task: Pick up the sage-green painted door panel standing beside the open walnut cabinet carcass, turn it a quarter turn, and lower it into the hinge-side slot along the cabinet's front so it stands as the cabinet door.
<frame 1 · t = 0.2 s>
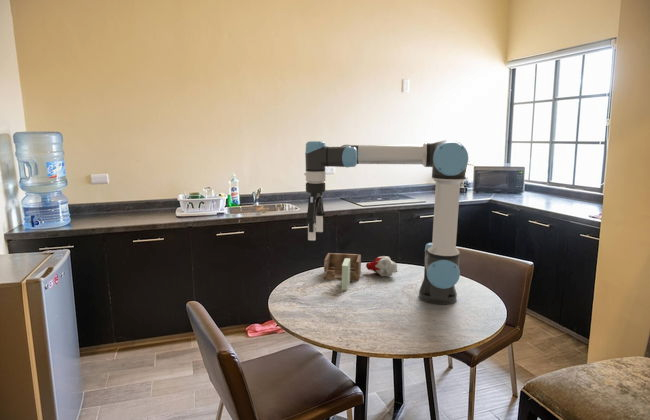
hand: (315, 235, 175), 28 cm above the table, fingers open, 13 cm apart
white and red lump: (381, 274, 214), on the table
cabinet: (342, 275, 211), on the table
door: (346, 285, 198), on the table
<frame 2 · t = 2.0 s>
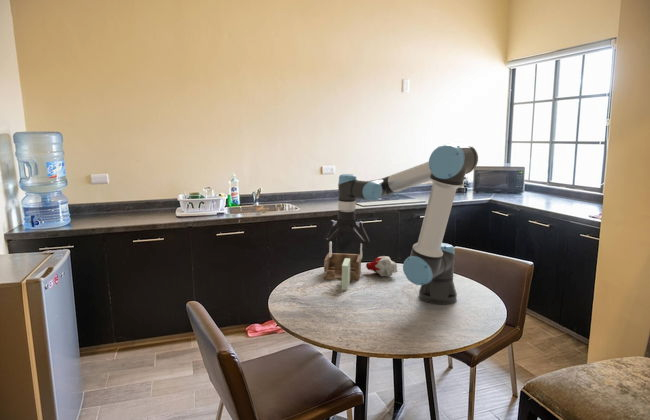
hand: (345, 257, 196), 13 cm above the table, fingers open, 13 cm apart
nothing on the table moved.
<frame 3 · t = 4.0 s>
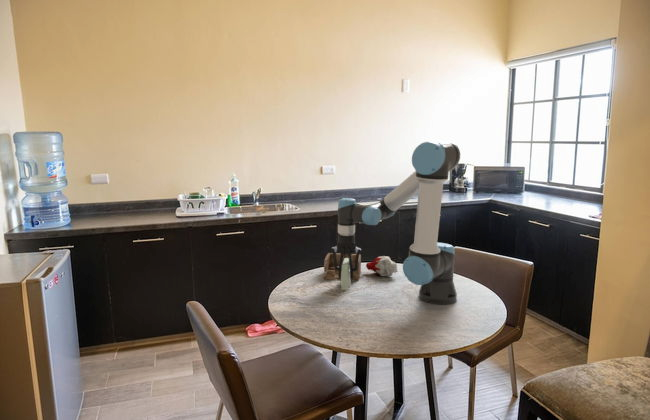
hand: (345, 284, 198), 0 cm above the table, fingers closed on door, 2 cm apart
door: (345, 285, 198), on the table, touching gripper
everything else where it was.
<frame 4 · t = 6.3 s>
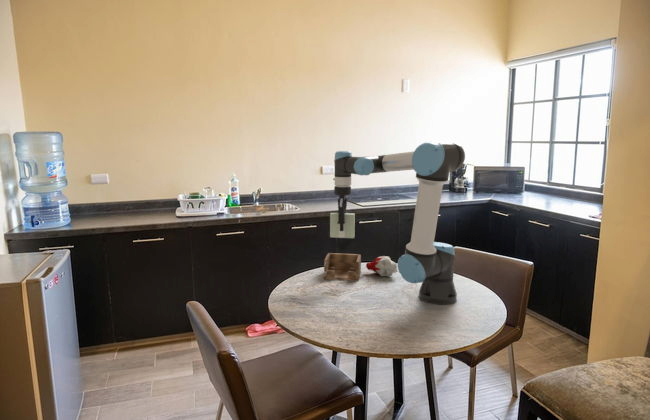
hand: (342, 236, 205), 20 cm above the table, fingers closed on door, 2 cm apart
door: (342, 237, 205), point 20 cm above the table, touching gripper
everything else where it was.
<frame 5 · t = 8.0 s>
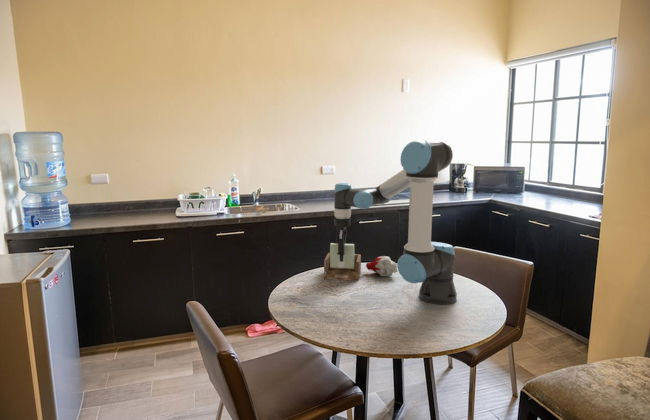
hand: (341, 266, 207), 5 cm above the table, fingers closed on door, 2 cm apart
door: (342, 267, 207), point 5 cm above the table, touching gripper
everything else where it was.
when the fingers open (2 cm above the table, at t = 8.7 s): door drops 1 cm, resting on cabinet.
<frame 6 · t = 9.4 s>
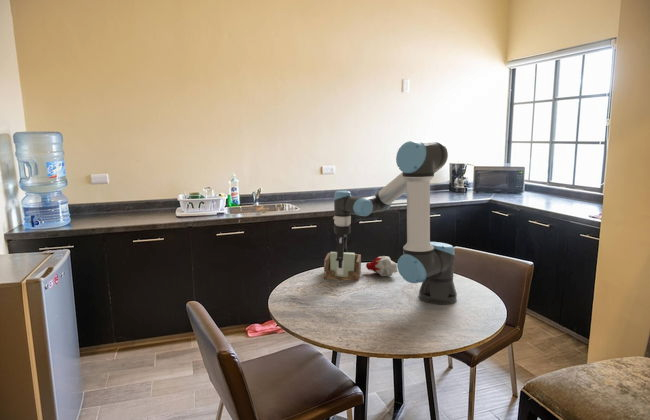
hand: (342, 270, 207), 4 cm above the table, fingers open, 12 cm apart
door: (342, 275, 208), point 1 cm above the table, touching cabinet
everything else where it was.
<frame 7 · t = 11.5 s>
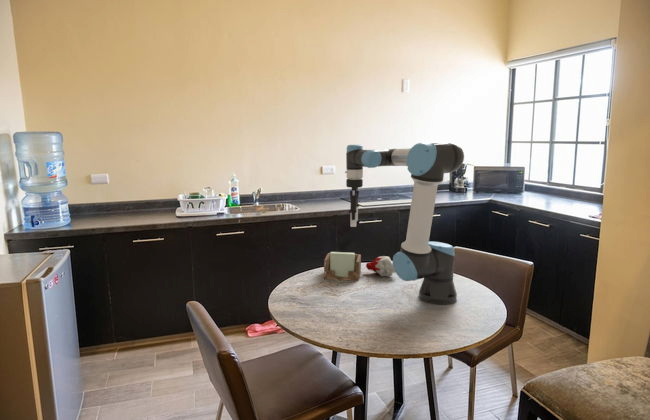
hand: (354, 223, 209), 25 cm above the table, fingers open, 13 cm apart
nothing on the table moved.
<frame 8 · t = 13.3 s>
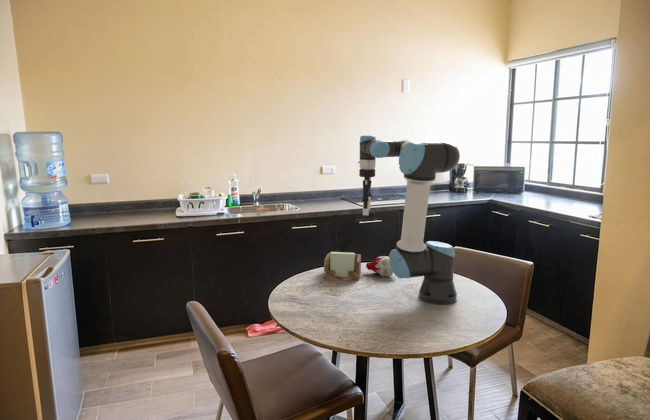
hand: (366, 212, 215), 29 cm above the table, fingers open, 13 cm apart
nothing on the table moved.
at the end: door 0.1 cm from the target spot on the cabinet, point 1.0 cm above the cabinet's base; door tilted 0°; the gripper is holding nothing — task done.
